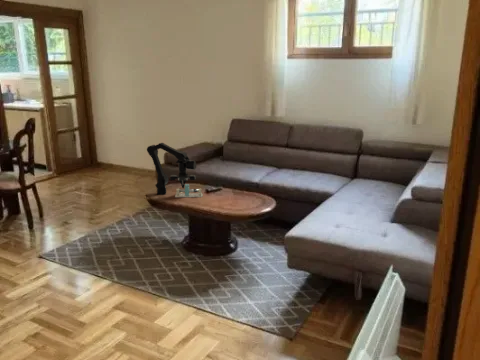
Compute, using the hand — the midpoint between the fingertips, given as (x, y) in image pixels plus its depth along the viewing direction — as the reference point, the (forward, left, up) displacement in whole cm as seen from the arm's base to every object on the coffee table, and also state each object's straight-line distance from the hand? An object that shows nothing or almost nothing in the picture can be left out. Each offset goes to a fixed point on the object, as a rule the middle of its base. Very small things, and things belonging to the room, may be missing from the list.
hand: (183, 188), depth 321 cm
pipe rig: (+4, 0, -6) cm, 8 cm away
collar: (+3, 0, -5) cm, 5 cm away
